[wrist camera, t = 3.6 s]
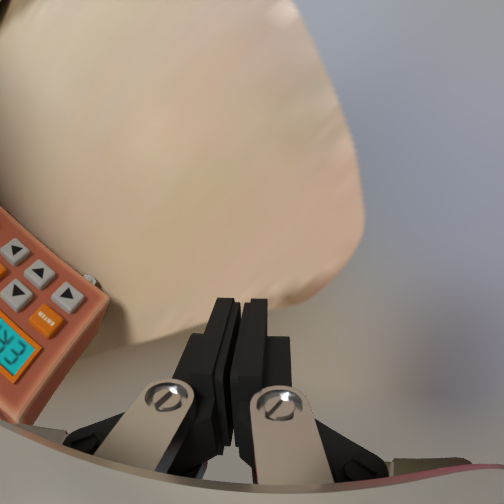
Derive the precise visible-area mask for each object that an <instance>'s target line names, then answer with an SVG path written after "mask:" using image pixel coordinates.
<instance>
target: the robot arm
mask: <svg viewBox="0 0 504 504" xmlns="http://www.w3.org/2000/svg"><path fill="white" fill-rule="evenodd" d="M0 2H1V0H0ZM291 380H292V378H291V355H290V337H283V336H281V337H280V336H279V337H278V336H267V299H251V302H250V303H245V304H244V308H243V313H242V318H241V306H240V302H235V301H234V298H217V300H216V303H215V305H214V308H213V311H212V313H211V316H210V318H209V321H208V324H207V327H206V329H205V332H204V334H199V333H193V334H191V336H190V338H189V340H188V343H187V345H186V347H185V350H184V352H183V354H182V357H181V359H180V361H179V364H178V366H177V368H176V370H175V373H174V375H173V377H172V379H160V380H157V381H154V382H152V383H150V384H148V385H147V386H146V387H145V388H144V389H143V390H142V391H141V392H140V393H139V395H138V396H137V397H136V399H135V400H134V401H133V403H132V404H131V405H130V407H129V408H128V409H127V411H126V412H124V413H121V414H119V415H116V416H113V417H111V418H108V419H105V420H103V421H100V422H97V423H94V424H92V425H89V426H87V427H83V428H80V429H78V430H76V431H74V432H72V433H71V434H68V433H67V431H66V430H58V429H50V428H44V427H37V426H31V425H26V424H20V423H12V424H9V423H7V422H5V421H2V420H0V504H504V465H502V464H472V463H471V462H470V461H468V460H466V459H464V458H458V457H451V458H421V459H407V458H394V459H393V461H392V462H385V461H383V460H382V459H381V458H379V457H378V456H377V455H375V454H373V453H371V452H369V451H368V450H366V449H364V448H363V447H361V446H359V445H358V444H356V443H354V442H352V441H350V440H349V439H347V438H346V437H344V436H342V435H341V434H339V433H337V432H336V431H334V430H332V429H331V428H329V427H327V426H326V425H324V424H323V423H321V422H319V421H318V420H316V419H314V416H313V413H312V409H311V406H310V403H309V401H308V399H307V397H306V395H304V394H303V393H302V392H301V391H299V390H297V389H295V388H293V387H292V381H291ZM233 429H234V436H235V446H236V447H239V455H240V458H241V459H242V460H244V461H245V462H246V463H247V464H248V465H250V467H251V468H252V478H253V484H242V483H229V482H219V481H210V480H202V478H203V476H204V473H205V471H206V469H207V464H208V462H207V461H208V460H209V459H211V458H213V457H215V456H217V455H223V450H224V446H230V445H231V441H232V435H233Z"/></svg>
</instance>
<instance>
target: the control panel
mask: <svg viewBox="0 0 504 504" xmlns="http://www.w3.org/2000/svg"><path fill="white" fill-rule="evenodd" d="M95 284H96V280H95V279H94V277H93V276H91V275H88V274H86V275H84V276H81V275H80V274H79V273H78V272H76V271H75V270H74V269H73V268H71V267H70V266H69V265H67V264H66V263H65V262H64V261H63V260H61V259H60V258H59V257H58V256H56V255H55V254H54V253H53V252H52V251H50V250H49V249H48V248H47V247H46V246H44V245H43V244H42V243H41V242H40V241H39V240H37V239H36V238H35V237H34V236H33V235H32V234H31V233H29V232H28V231H27V230H26V229H25V228H24V227H23V226H22V225H20V224H19V223H18V222H17V221H16V220H15V219H14V218H13V217H12V216H11V215H10V214H9V213H8V212H6V211H5V210H4V209H3V208H2V207H1V206H0V420H2V421H5V422H7V423H9V424H12V423H20V424H26V425H31V426H32V425H33V424H34V422H35V421H36V419H37V418H38V416H39V415H40V413H41V412H42V410H43V408H44V407H45V406H46V404H47V403H48V401H49V400H50V398H51V397H52V395H53V394H54V392H55V391H56V389H57V388H58V386H59V385H60V383H61V382H62V381H63V379H64V378H65V376H66V375H67V373H68V372H69V371H70V369H71V368H72V366H73V365H74V364H75V362H76V361H77V359H78V358H79V357H80V355H81V354H82V353H83V351H84V350H85V348H86V347H87V346H88V344H89V343H90V342H91V340H92V339H93V338H94V336H95V335H96V334H97V332H98V329H99V327H100V324H101V322H102V319H103V316H104V314H105V311H106V309H107V306H108V304H109V302H110V297H109V296H108V295H107V294H105V293H104V292H103V291H101V290H100V289H99V288H97V287H96V286H95Z"/></svg>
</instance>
